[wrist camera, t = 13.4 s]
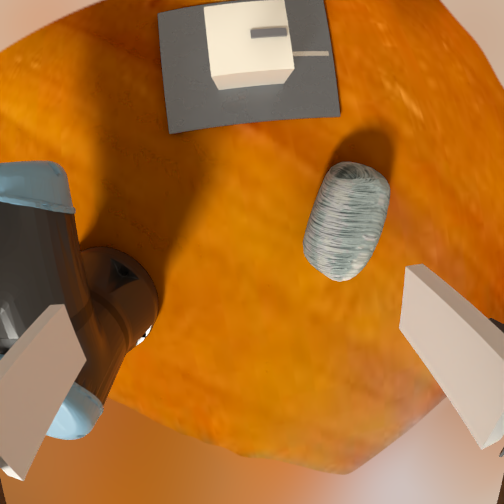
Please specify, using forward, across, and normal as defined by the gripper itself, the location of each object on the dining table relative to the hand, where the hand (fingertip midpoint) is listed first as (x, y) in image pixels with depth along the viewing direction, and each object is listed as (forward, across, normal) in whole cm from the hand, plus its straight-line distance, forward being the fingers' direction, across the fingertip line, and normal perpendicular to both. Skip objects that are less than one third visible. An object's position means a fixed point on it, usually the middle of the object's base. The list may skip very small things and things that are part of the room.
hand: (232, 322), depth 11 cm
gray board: (+29, +3, +16) cm, 33 cm away
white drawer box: (+28, +3, +16) cm, 32 cm away
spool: (+29, +12, -4) cm, 32 cm away
